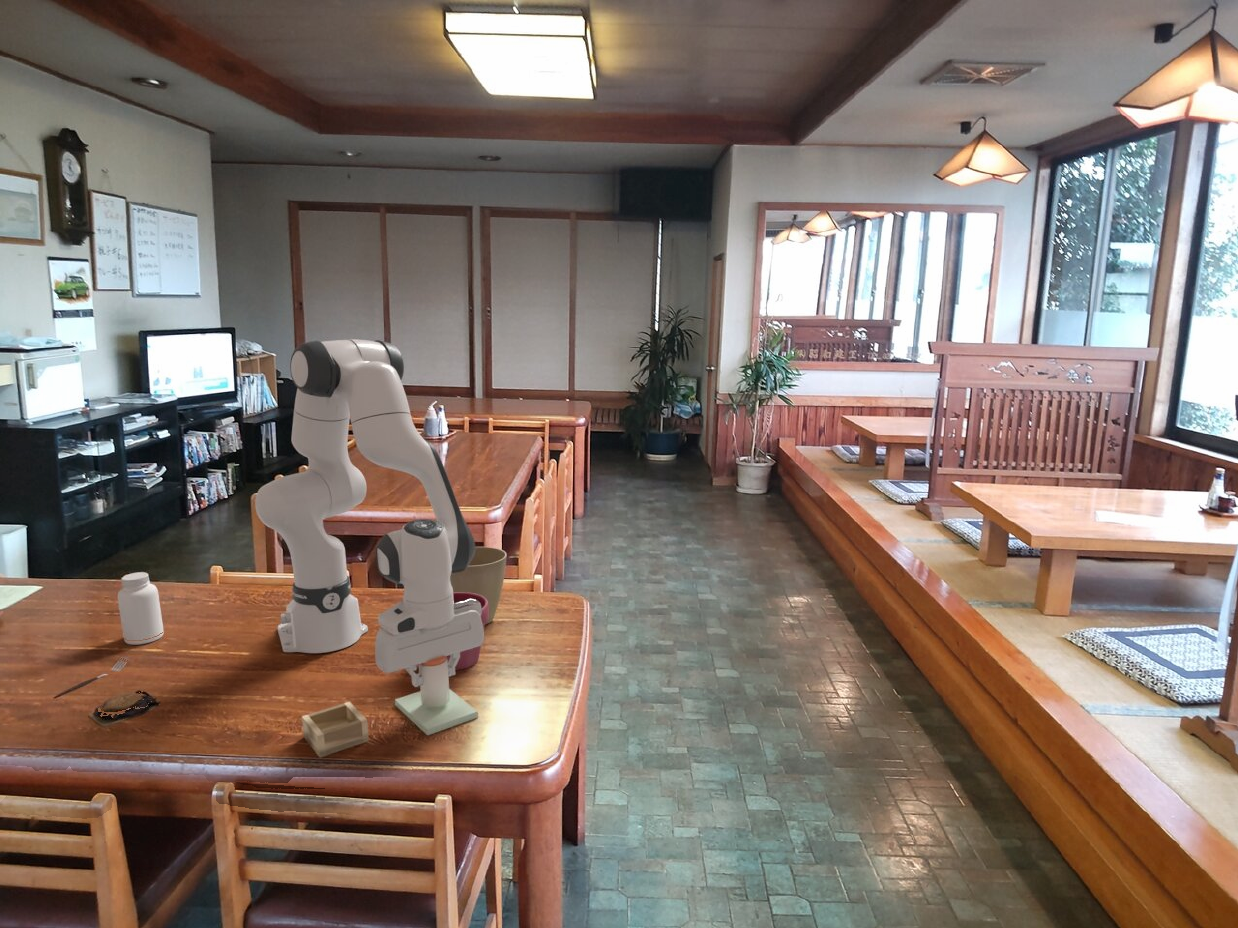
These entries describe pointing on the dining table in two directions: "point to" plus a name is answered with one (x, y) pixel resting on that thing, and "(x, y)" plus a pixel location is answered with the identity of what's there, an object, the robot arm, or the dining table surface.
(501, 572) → the plant pot
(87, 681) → the fork
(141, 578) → the pill bottle
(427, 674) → the shaker
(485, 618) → the plant pot
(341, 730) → the holder
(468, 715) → the pale green flat slab
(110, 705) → the sandwich
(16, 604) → the dining table surface
